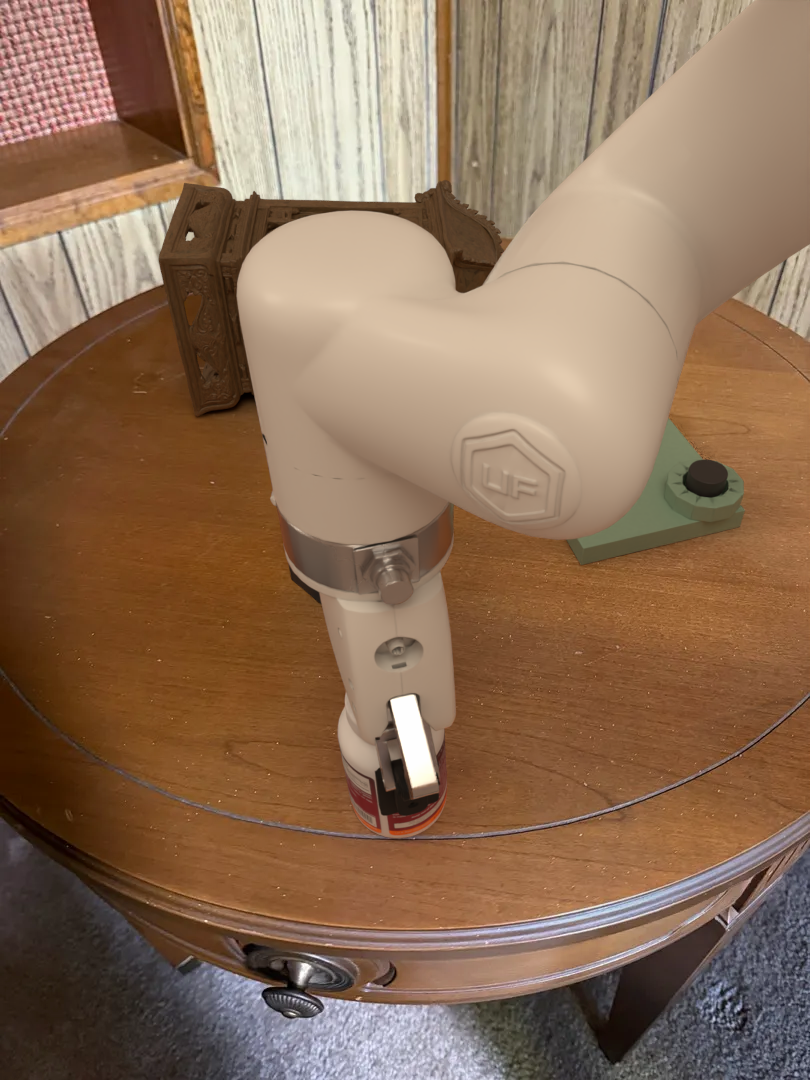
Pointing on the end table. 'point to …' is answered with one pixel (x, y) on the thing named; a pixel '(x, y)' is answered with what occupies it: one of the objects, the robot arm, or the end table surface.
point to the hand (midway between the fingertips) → (386, 728)
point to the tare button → (706, 478)
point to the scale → (666, 507)
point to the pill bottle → (362, 780)
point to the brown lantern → (241, 225)
